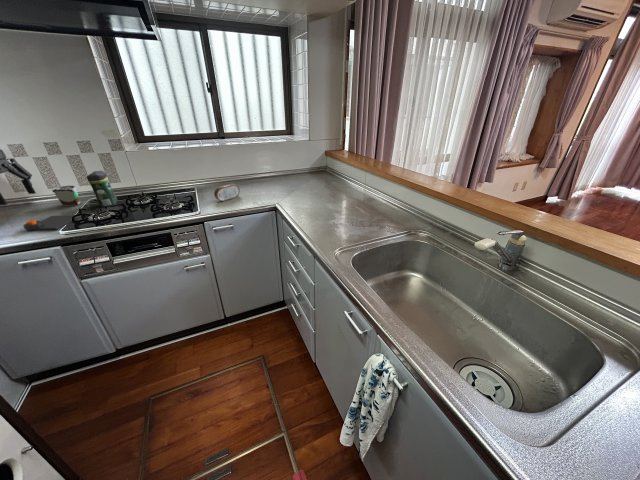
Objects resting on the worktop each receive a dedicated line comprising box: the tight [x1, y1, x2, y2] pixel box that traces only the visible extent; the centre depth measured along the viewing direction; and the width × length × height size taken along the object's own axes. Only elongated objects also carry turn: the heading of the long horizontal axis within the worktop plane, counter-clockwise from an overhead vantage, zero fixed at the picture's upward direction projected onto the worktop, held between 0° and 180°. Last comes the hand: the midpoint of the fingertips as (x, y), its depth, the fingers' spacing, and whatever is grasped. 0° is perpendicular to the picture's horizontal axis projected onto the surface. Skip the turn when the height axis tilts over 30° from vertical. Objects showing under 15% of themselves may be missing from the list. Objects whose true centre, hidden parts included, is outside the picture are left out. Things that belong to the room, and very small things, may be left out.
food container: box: [51, 185, 82, 207], centre depth 152 cm, size 12×6×10 cm, turn 89°
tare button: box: [25, 219, 37, 225], centre depth 125 cm, size 3×3×2 cm
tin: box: [213, 183, 241, 202], centre depth 155 cm, size 15×3×8 cm, turn 136°
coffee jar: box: [86, 170, 118, 208], centre depth 148 cm, size 10×8×19 cm
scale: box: [22, 214, 76, 232], centre depth 130 cm, size 15×15×3 cm
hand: (18, 198), depth 120 cm, fingers open, 13 cm apart
